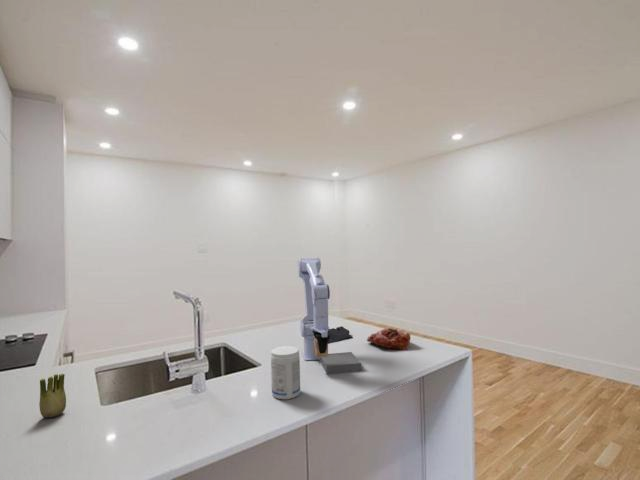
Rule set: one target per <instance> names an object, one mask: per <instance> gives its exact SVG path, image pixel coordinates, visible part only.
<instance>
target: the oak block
mask: <svg viewBox="0 0 640 480" xmlns="http://www.w3.org/2000/svg"><path fill="white" fill-rule="evenodd" d="M314 349H315V356H316V358H319V357H328V354H329V344H328V343H327V348H326V352H325V353H320V352H319V346H318V341H317V339H314Z"/></svg>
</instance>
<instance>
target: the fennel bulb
mask: <svg viewBox="0 0 640 480" xmlns="http://www.w3.org/2000/svg"><path fill="white" fill-rule="evenodd" d="M65 376H66V375H65V373H54V374H53V376H49V377H48V378H47V380H46V378H41V379H40V380H39V385H40V386H39V389H40V390H39V391H40V392H39V405H38V406H39V412H40V415H41V416H42V418H44V419H46V418H50V419H52V418H56V417H58V416H60V415H62V414H63V413H64V412H65V410H66V408H67V397H66V392H65V391H66V390H65ZM46 381H47V383H46Z"/></svg>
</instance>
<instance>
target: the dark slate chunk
mask: <svg viewBox="0 0 640 480" xmlns="http://www.w3.org/2000/svg"><path fill="white" fill-rule="evenodd" d="M327 335H330V339H329V341H328V345H329V344H335V343H339V342H343V341H347V340H351V339H354V337H353V336H352V335H351V334H350V330H349V329H347V328H345V327H344V326H338V327H336V328H329V330H328V332H327Z"/></svg>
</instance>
